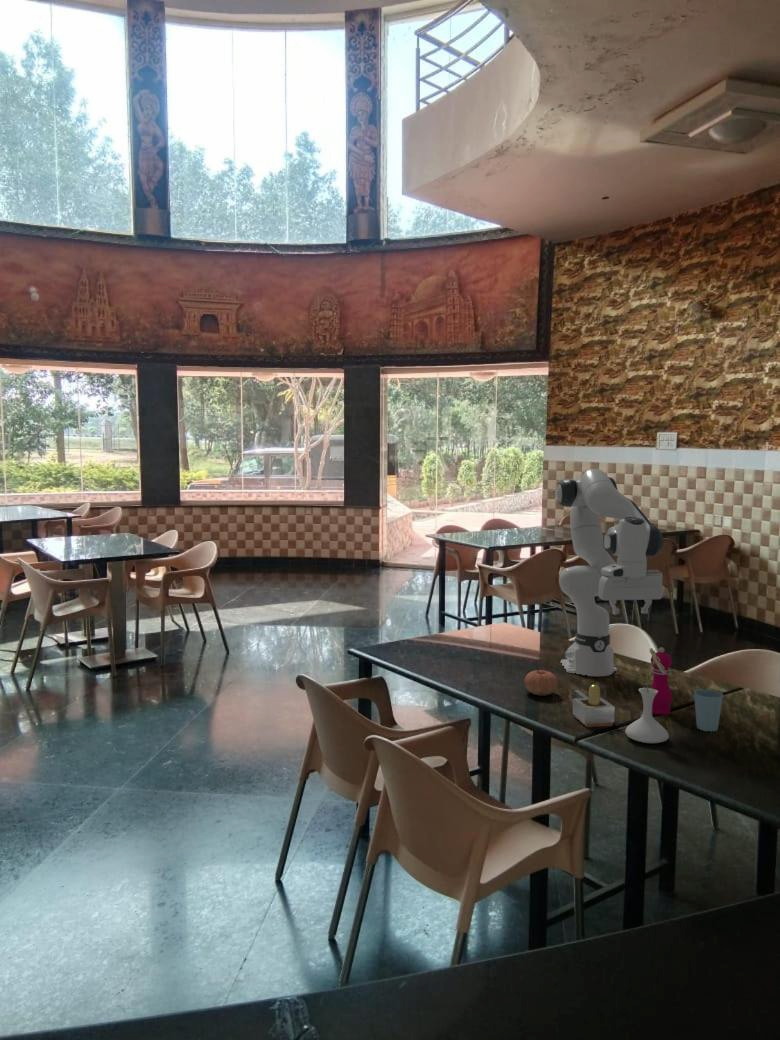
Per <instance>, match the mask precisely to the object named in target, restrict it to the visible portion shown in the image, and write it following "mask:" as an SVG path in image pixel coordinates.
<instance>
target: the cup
mask: <svg viewBox="0 0 780 1040" xmlns="http://www.w3.org/2000/svg"><path fill="white" fill-rule="evenodd" d="M693 696H694V706H695V707H694V709H695V721H696V722H695V723H696V728H697V729H698V730H699V729H700V731H702V730H703V731H702V732H707V731H711V732H710V733H715V732H717V731H718V729H719V722H720V717H721V711H722V703H723V699H724V698H723V697H724V693H722V692H721V691H717V690H713V689H704V688H702V689H695V690H694V691H693ZM712 731H713V732H712ZM714 731H715V732H714Z"/></svg>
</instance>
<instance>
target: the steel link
mask: <svg viewBox="0 0 780 1040" xmlns="http://www.w3.org/2000/svg"><path fill="white" fill-rule="evenodd" d="M588 703H589V696H587V695H586V693H583V692H582V691H581V690H580V689H575V690H573V698H572V714H573V715H574V717H575V716H576V717H577V718H579V719H580V720H581V721H582V722H583V723H585V724H587V723H607V722H613V723H615V712H616V711H615V709H616V707H615V706H614V705H612V704H611V703H610V702H609V701H607V700H606V699H604V698H603V697H601V696H600V706H588Z"/></svg>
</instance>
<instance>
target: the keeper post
mask: <svg viewBox="0 0 780 1040" xmlns="http://www.w3.org/2000/svg"><path fill="white" fill-rule="evenodd" d="M588 697H589V703H588V706H600V697H601V689H600V686H599V685H597V684H591V685H590V686H589V688H588ZM574 717H575V718H574V719H576V720H577V719H578V720H579V721H578V720H577V721H578V722H580V723H581V724H582V725H583V726H584V725H585V726H584V727H586V728H596V727H612V726H613V724H614V722H607V723H587V724H585V723H583V722H582V721H581V720H580V719H579V718H577V717H576V716H575V715H574Z"/></svg>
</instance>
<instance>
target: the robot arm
mask: <svg viewBox="0 0 780 1040" xmlns="http://www.w3.org/2000/svg"><path fill="white" fill-rule="evenodd" d="M555 493H556V498H557V501H558V504H559V505H560V506H563V507H565V508H566V507H567V508H571V509H570V513H569V526H570V535H571V540H572V547H573V552H574V553H575V555H576V556H577V557H579V558H581V560H584V561H586V562H587V563H588V565H573V566H569V567H566V568H563V570H562V571H561V573H560V575H559V576H558V585H559V588H560V589H561V591H562V593H564V594H565V595H566V596H568V598H570V600H571V601H572V603H573V606H574V607H575V610H576V616H577V617H576V619H577V631H576V632H575V637H574V642H573V643H572V644H571V645H570V646H569V647H568V648H567V651H565V652H564V656H565V659H561V660H560V664H561V663H562V664H561V665H562V667H563V666H564V667H563V668H564V670H565V669H566V670H565V671H566V672H567V673H568V674H575V673H576V674H575V675H580V674H581V676H585V675H587V677H606V676H607V677H608V676H611V675H612V674H613V673H615V672H614V671H616V672H617V671H618V668H617V667H615V665H614V650H613V648H612V647H611V646H610V644H611V635H610V613H609V612H608V610H607V609H606V608H604V607H602V606H601V605H600V604H597V603H596V600H595V597H597V596H598V598H599V599H600V600H602V601H609V605H610V607H611V608H612V615H614V616H616V615H620V608H618V607H617V606H616V604H617V602H618V601H639V600H640V601H642V600H644V601H643V602H644V605H643V607H640V613H641V614H643V615H646V614H647V615H648V613H649V608H650V606H651V605H652V603H653V600H661V599H662V598H663V597H664V587H663V572H662V571H660V570H659V569H657V568H656V569H647V567H648V566H647V563H648V561H647V560H648V558H654V557H655V556H657V555H658V554H659V553H660V552H661V551H662V550H663V548H664V545H665V541H664V540H665V539H664V535H663V533H662V532H661V530H660V529H659V528H658V527H657V526H656V525H655V524H653V522H651V521H650V520H649V518H647V516H646V515H645V514H644V512H643V511H642V510H641V509H640V508H639V507H638V505H637V504H636V503H635V502H634V500H631V499H630V498H628V497H626V496H625V495H624V494H623V493H621V492H619V490H618V486H617V482H616V480H614V478H613V477H610V476H608V475H607V474H606V473H605V472H604V471H603V470H601V469H599V468H590V469H588V470H586V471H584V473H583V474H582V475H581V476H580V477H573V478H570V477H569V478H565V479H561V480H560V481H559V482H558V483H557V488H556V492H555ZM600 517H606V518H612V519H618V520H619V522H618V524H616V525H614V526H610V527H609V528H607V529H606V530H605V532H604V533H603V531H602V526H601V525H602V524H601V521H600ZM611 555H612V556H615V557H616V556H617V558H616V561H615V560H614V559H613V557H612V556H611Z"/></svg>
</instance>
